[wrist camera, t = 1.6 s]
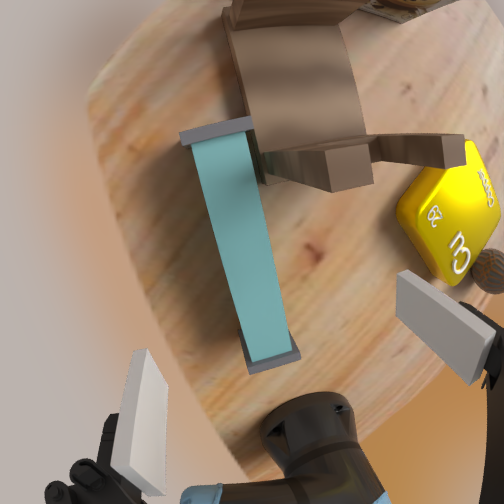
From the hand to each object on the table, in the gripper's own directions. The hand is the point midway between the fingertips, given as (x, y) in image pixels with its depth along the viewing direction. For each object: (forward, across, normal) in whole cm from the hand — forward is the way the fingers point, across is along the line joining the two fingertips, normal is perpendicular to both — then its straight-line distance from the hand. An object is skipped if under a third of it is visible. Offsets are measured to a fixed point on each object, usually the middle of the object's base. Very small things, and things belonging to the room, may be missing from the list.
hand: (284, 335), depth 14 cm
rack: (+16, -9, -14) cm, 23 cm away
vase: (+16, -37, +14) cm, 43 cm away
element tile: (+17, -28, +3) cm, 33 cm away
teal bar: (+16, 0, 0) cm, 16 cm away
